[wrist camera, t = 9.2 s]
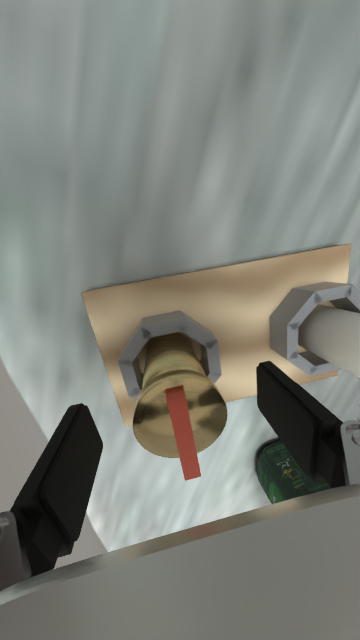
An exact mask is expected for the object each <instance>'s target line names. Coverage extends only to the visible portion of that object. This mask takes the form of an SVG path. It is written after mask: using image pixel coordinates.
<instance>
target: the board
mask: <svg viewBox="0 0 360 640" xmlns="http://www.w3.org/2000/svg"><path fill="white" fill-rule="evenodd" d="M350 251H351V244H344V245H336V246H330V247H325V248H319V249H314V250H308V251H303V252H297V253H292V254H286V255H281V256H275V257H270V258H264V259H259V260H253V261H248V262H242V263H237V264H232V265H226V266H221V267H215V268H210V269H204V270H199V271H193V272H188V273H182V274H177V275H171V276H166V277H160V278H155V279H149V280H144V281H138V282H133V283H127V284H122V285H116V286H111V287H106V288H100V289H95V290H89V291H85V292H83V293H81V295H82V298H83V301H84V304H85V307H86V310H87V313H88V316H89V319H90V322H91V325H92V328H93V331H94V334H95V337H96V340H97V343H98V346H99V349H100V352H101V355H102V358H103V361H104V364H105V367H106V370H107V373H108V376H109V379H110V382H111V385H112V388H113V391H114V394H115V397H116V400H117V403H118V406H119V409H120V412H121V415H122V418H123V421H124V424H125V427H127V426H131V425H133V417H134V409H135V403H136V400H135V399H133V398H131V397H129V396H128V393H127V390H126V387H125V384H124V380H123V377H122V374H121V371H120V367H119V364H118V359H119V356H120V354H121V351H122V349H123V347H124V345H125V344H126V342H127V341H128V339H129V338H130V336H131V335H132V333H133V332H134V330H135V329H136V327H137V326H138V324H139V323H140V321H141V320H142V318H144V317H149V316H154V315H160V314H165V313H170V312H175V311H182V312H183V313H185V314H186V315H188V316H189V317H191V318H192V319H194V320H195V321H197V322H198V323H200V324H201V325H203V326H204V327H206V328H207V329H209V330H210V331H211V333H212V334H213V335H214V336H215V337H216V338H217V340H218V347H219V356H220V364H221V373H222V375H221V376H220V378H219V379H218V380H217V381H216V383H215V385H216V386H217V388H218V390H219V392H220V394H221V396H222V398H223V400H224V402H225V403H226V402H230V401H234V400H238V399H242V398H246V397H250V396H254V395H257V377H256V367H257V366H259V363H261V362H265V361H271V362H272V363H274V364H275V365H276V366H277V367H278V368H279V369H281V370H282V371H283V372H284V373H285V374H286V375H288V376H289V377H290V378H291V379H292V380H293V381H294V382H296V383H298V384H299V385H300V384H304V383H308V382H312V381H316V380H320V379H324V378H329V377H333V376H337V375H338V370H335V371H331V372H327V373H323V374H319V375H315V376H311V377H310V376H309V375H307V374H306V373H305V372H303V371H302V370H300V369H299V368H298V367H296V366H295V365H293V364H292V363H291V362H289V361H288V360H286V359H285V358H284V357H282V356H281V355H279V354H278V353H277V352H275V351H274V350H272V349H271V348H270V322H269V317H270V316H271V314H272V313H273V312H274V311H275V309H276V308H277V307H278V306H279V304H280V303H281V302H282V301H283V299H284V298H285V297H286V296H287V294H288V293H289V292H290V291H291V289H292V288H296V287H301V286H306V285H311V284H316V283H321V282H335V283H346V284H347V279H348V270H349V260H350ZM318 304H321V305H325V306H329V307H334V308H336V307H335V306H334V305H333V304H332V303H331V302H330V301H325V302H320V303H318ZM178 333H181V334H183V335H184V336H186V337H187V338H188V340H189V341H190V343H191V345H192V347H193V349H194V351H195V353H196V355H197V358H198V360H199V362H201V361H202V352H201V345H200V343H199V342H198V341H196V340H194V339H193V338H191V337H190V336H188V335H186V334H185V333H183V332H182V331H180V332H178ZM152 338H153V337H151V338H149V339H148V341H147V342H146V344H145V345H144V346H143V348H142V349H141V351H140V352H139V354H138V355H137V358H138V362H139V366H140V369H141V373H143V374H144V366H145V356H146V349H147V346H148V344H149V342H150V341H151V339H152ZM306 351H308V350H306V349H304V348H302V347H301V346H299V345H298V353H301V352H306Z"/></svg>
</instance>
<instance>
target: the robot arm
mask: <svg viewBox="0 0 360 640" xmlns="http://www.w3.org/2000/svg"><path fill="white" fill-rule="evenodd" d="M256 377H257V405H258V408H259V410H260V411H261V413H262V414H263V416H264V417H265V418H266V420H267V421H268V423H269V424H270V425H271V427H272V428H273V430H274V431H275V433H276V434H277V435H278V437H279V438H280V440H281V441H282V442H283V444H284V445H285V447H286V448H287V450H288V451H289V452H290V454H291V455H292V457H293V458H294V459H295V461H296V462H297V464H298V465H299V467H300V468H301V469H302V471H303V472H304V473H305V474H306V475H310V477H311V478H312V479H313V481H314V482H315V483H318V482H322V481H326V482H327V483H328V484H329V486H330V487H332V488H331V489H327V490H324V491H320V492H316V493H312V494H308V495H304V496H300V497H297V498H293V499H289V500H286V501H282V502H279V503H275V504H272V505H268V506H265V507H261V508H258V509H254V510H251V511H247V512H244V513H240V514H237V515H233V516H230V517H226V518H223V519H219V520H216V521H213V522H209V523H206V524H202V525H199V526H195V527H192V528H189V529H185V530H182V531H178V532H175V533H172V534H168V535H165V536H161V537H158V538H155V539H151V540H148V541H144V542H141V543H138V544H134V545H131V546H128V547H124V548H121V549H118V550H114V551H111V552H108V553H105V554H101V555H98V556H95V557H91V558H88V559H85V560H82V561H79V562H75V563H72V564H69V565H66V566H63V567H60V568H57V569H53V568H54V566H55V563H56V560H57V558H58V557H62V556H65V555H69V554H71V552H72V548H73V545H74V542H75V541H77V539H78V538H79V535H80V532H81V528H82V524H83V521H84V517H85V513H86V509H87V506H88V502H89V498H90V495H91V491H92V487H93V483H94V480H95V476H96V472H97V468H98V465H99V461H100V457H101V453H102V449H103V442H102V439H101V437H100V435H99V432H98V430H97V428H96V425H95V423H94V421H93V418H92V416H91V413H90V411H89V409H88V407H87V406H86V405H85V406H84V404H82V403H81V404H77V405H72V406H70V407H69V408H68V409H67V411H66V413H65V415H64V416H63V418H62V420H61V422H60V423H59V425H58V427H57V429H56V430H55V432H54V434H53V436H52V437H51V439H50V441H49V443H48V444H47V446H46V448H45V450H44V451H43V453H42V455H41V457H40V458H39V460H38V462H37V463H36V465H35V467H34V469H33V470H32V472H31V474H30V476H29V477H28V479H27V481H26V483H25V484H24V486H23V488H22V490H21V491H20V493H19V495H18V497H17V498H16V500H15V502H14V505H13V507H12V508H11V510H10V511H6V512H1V513H0V640H360V421H346V422H344V423H343V422H342V421H341V420H339V419H338V418H337V417H336V416H335V415H334V414H332V413H331V412H330V411H329V410H328V409H327V408H325V407H324V406H323V405H322V404H321V403H320V402H318V401H317V400H316V399H315V398H314V397H313V396H312V395H310V394H309V393H308V392H307V391H306V390H305V389H303V388H302V387H301V386H300V385H299V384H298V383H296V382H294V381H293V380H292V379H291V378H290V377H289V376H288V375H286V374H285V373H284V372H283V371H282V370H281V369H279V368H278V367H277V366H276V365H275V364H274V363H272V362H271V361H265V362H261V363H259V366H257V367H256Z"/></svg>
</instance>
